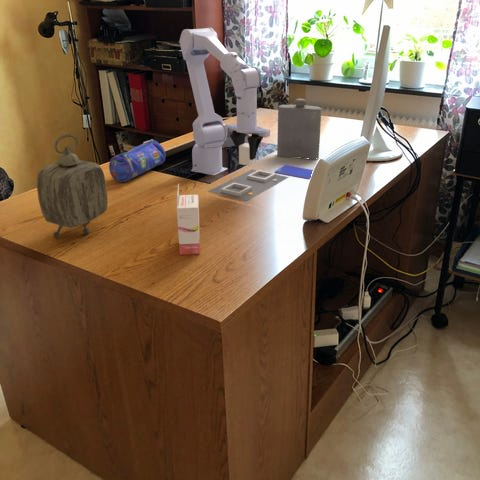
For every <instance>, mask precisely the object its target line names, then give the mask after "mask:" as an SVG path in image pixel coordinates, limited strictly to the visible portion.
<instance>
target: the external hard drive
mask: <svg viewBox="0 0 480 480" xmlns="http://www.w3.org/2000/svg"><path fill="white" fill-rule="evenodd" d="M232 133H233V132H232V131H227V138H226V140H225V141H224V144H222V148H224V147H231V146H235V145H234V142H233V141H232V139H231V137H230V135H231V134H232ZM249 136H250V134H246V136H245V142H244V143H248V139H247V137H249Z"/></svg>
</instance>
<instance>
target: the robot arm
mask: <svg viewBox="0 0 480 480" xmlns="http://www.w3.org/2000/svg"><path fill="white" fill-rule="evenodd" d="M179 37H180V38H179V45H180V49H181V53H182V58H183V60H184V61H185V62H186V66H187V71H188V75H189V81H190V86H191V88H192V93H193V98H194V101H195V102H194V103H195V106H196V111H197V115H198V116H197V118H195V120H194V121H193V123H192V129H193V130H192V131H193V132H192V135H193V137H192V138H193V139H194V142H195V144H194V145H193V147H192V150H191V151H192V152H191V157H192V158H191V160H192V169H191V172H193V173H200V174H201V173H202V174H205V175H210V176H215V175H218V174H220V173H222V172H225V171H226V170H228V168H227V167H223V149H222V144H224V141H225V140H226V138H227V131H232V132H233V133H232V134H231V135H230V137H231V139H232V141H233V142H234V145H235V147H236V148H235V150H236V154H237V156H238V157H237V158H239V146H240V145H242V144H244V142H245V136H246V134H248V135H249V137H247V139H248V143H249V149H250V160H253V159H255V158H256V159H257V154H258V150H259V147H260V145H261V142H262V141H263V139H264V138H265V139H267V138H270V137H271V129H268V128H264V127H261V126H257V123H258V120H257V119H258V118H257V116H258V113H257V112H258V106H257V104H258V103H257V102H258V101H257V99H258V90H257V89H258V88H259V87H260V86H261V84H262V74H261V72H260V70H259V69H258V67H257V66H249V65H248V63H246V62H245V61H243V59H242V58H240V57H239V54H238V53H237V52H233V51H230V52H229V50H227V48H225V46H224V45H223V44H222V42H220V40H219V38H218V33H217V31H215V29H213V28H212V27H211V26H210V27H206V28H193V29H189V28H186V29H183V30H182V31H181V34H180V36H179ZM210 55H212V56H213V57H214V58H215V59H216V60H218V61H219V62H220V63H219V65H220V69H221V70H222V71H224V72H225V74H227V76H228V77H229V78H230V79H231V83H232V87H233V89H234V96H235V97H236V123H229V122H227V123H224V120H223V117H222V116H221V115H219V114H218V113H215V108H214V104H213V103H214V102H213V99H212V96H211V90H210V87H209V82H208V78H207V72H206V69H205V64H204V62H205V60H206V59H207V58H208V57H210Z"/></svg>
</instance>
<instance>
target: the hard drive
mask: <svg viewBox="0 0 480 480" xmlns="http://www.w3.org/2000/svg"><path fill="white" fill-rule="evenodd" d="M313 170H314V169H309V168H304V167H299V166H293V165H289V164H285V165H283V166H281V167H279V168H278V169H276V170H274V172H273V173H276V174H277V175H282V176H287V177H295V178H300V179H305V180H311V179H310V177H311V174H312V171H313Z"/></svg>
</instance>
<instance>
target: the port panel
mask: <svg viewBox="0 0 480 480" xmlns="http://www.w3.org/2000/svg"><path fill="white" fill-rule="evenodd" d="M289 177H290V176H286V175H282V174H277V173H274V172H269V171H266V170H260V169H258V170H257V169H250V170H248V171H246V172H244V173H242V174H240V175H237V176H236V177H233V178H232V179H231V178H230V180H227V181H226V182H224V183H222V184H219V185H217V186H216V187H214V188H211V189H210V190H208V191H207V192H208V193H212V194H217V195H221V196H224V197H228V198H231V199H232V198H233V199H236V200H241V201H244V202H248V201H250V200H252V199H254V198H255V197H257V196H259V195H260V194H262V193H264V192H265V191H268V190H269V189H271V188H273V187H274V186H276V185H278V184H281V182H284V181H285V180H287V179H289Z"/></svg>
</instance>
